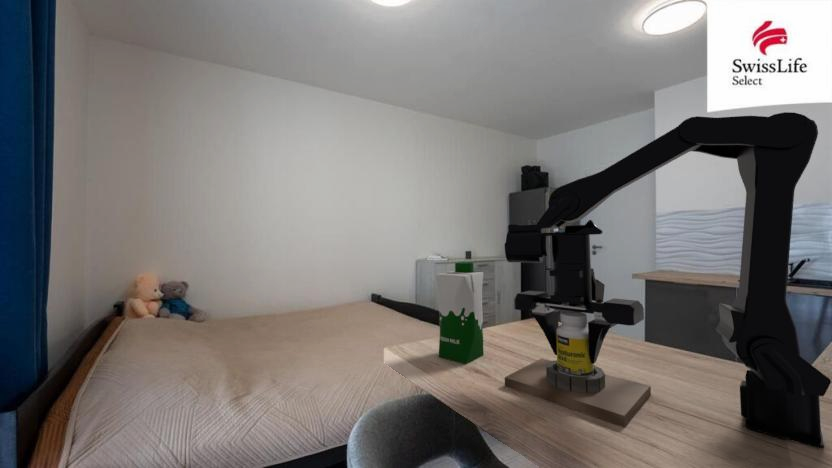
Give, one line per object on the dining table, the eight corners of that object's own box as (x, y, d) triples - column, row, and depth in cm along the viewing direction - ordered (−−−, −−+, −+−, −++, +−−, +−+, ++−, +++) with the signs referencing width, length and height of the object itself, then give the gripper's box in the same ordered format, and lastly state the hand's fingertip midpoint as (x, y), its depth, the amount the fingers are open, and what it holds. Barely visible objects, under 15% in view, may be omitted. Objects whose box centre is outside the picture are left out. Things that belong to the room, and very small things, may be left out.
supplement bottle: (552, 374, 55) (550, 314, 55) (564, 365, 59) (562, 309, 59) (588, 383, 51) (585, 318, 52) (598, 373, 55) (596, 313, 56)
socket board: (650, 395, 53) (650, 372, 53) (624, 427, 44) (623, 400, 44) (541, 366, 66) (541, 348, 66) (504, 386, 57) (504, 365, 57)
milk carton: (489, 354, 73) (487, 262, 74) (467, 367, 67) (464, 265, 67) (455, 347, 79) (453, 261, 80) (431, 357, 72) (430, 264, 73)
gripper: (651, 261, 54) (655, 359, 54) (541, 259, 68) (543, 337, 68) (630, 266, 47) (635, 380, 46) (511, 262, 60) (513, 350, 60)
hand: (574, 358), depth 55 cm, fingers closed on supplement bottle, 5 cm apart
